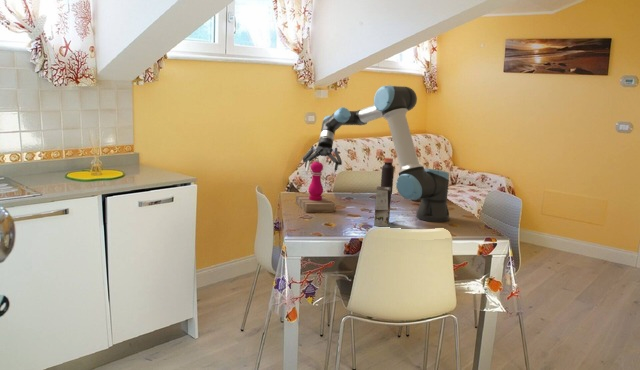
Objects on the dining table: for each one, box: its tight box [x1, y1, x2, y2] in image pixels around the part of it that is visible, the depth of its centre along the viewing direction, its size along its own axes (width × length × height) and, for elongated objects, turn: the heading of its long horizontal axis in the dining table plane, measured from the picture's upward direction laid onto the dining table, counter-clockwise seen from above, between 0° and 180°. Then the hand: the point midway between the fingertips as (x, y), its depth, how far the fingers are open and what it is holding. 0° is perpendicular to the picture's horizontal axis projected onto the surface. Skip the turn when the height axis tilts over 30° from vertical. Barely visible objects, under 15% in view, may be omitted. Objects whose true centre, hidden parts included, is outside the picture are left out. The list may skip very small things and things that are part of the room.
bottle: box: [380, 157, 395, 194], centre depth 302 cm, size 7×7×20 cm
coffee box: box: [373, 186, 392, 228], centre depth 230 cm, size 9×6×16 cm
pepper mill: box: [307, 158, 324, 201], centre depth 255 cm, size 7×7×20 cm
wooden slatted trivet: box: [295, 194, 336, 213], centre depth 257 cm, size 20×14×4 cm
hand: (319, 173), depth 265 cm, fingers open, 13 cm apart
